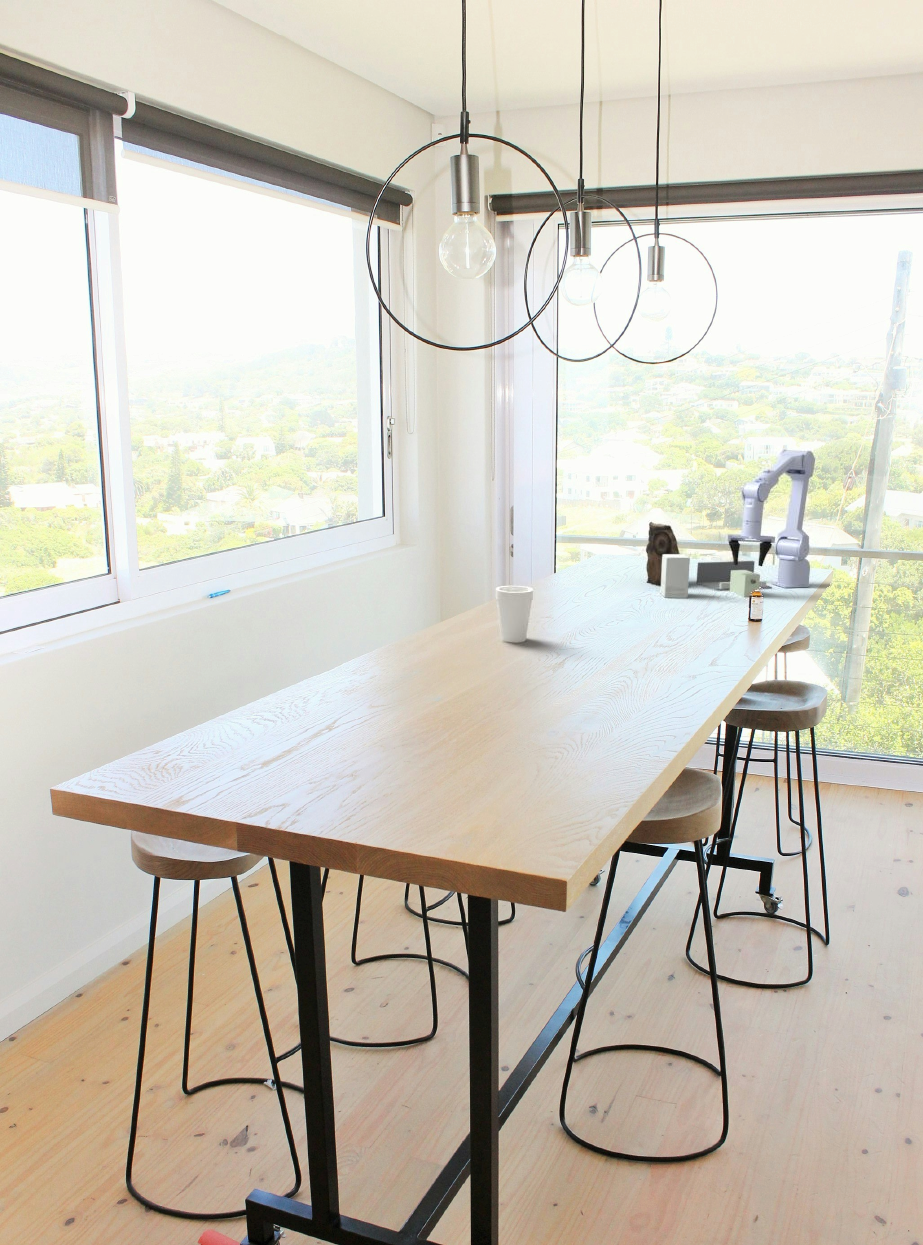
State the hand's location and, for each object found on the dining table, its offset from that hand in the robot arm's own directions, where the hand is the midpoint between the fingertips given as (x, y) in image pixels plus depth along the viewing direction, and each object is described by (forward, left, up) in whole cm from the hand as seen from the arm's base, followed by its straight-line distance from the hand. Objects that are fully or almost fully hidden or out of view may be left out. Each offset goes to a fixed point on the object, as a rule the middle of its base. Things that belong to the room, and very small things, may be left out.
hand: (747, 565), depth 315 cm
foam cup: (+88, +40, -10) cm, 97 cm away
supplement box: (+22, -5, -10) cm, 25 cm away
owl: (+15, -25, -10) cm, 31 cm away
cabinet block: (-1, -3, -10) cm, 10 cm away
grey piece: (-5, -17, -10) cm, 20 cm away
